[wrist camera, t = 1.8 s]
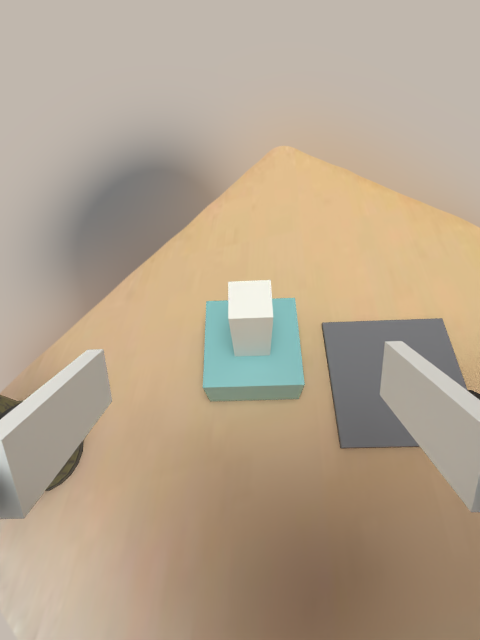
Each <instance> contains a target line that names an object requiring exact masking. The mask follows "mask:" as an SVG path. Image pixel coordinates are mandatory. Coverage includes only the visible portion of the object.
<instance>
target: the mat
mask: <svg viewBox="0 0 480 640" xmlns="http://www.w3.org/2000/svg"><path fill="white" fill-rule="evenodd" d="M322 329H323V336H324V343H325V349H326V356H327V362H328V369H329V376H330V382H331V389H332V395H333V402H334V409H335V415H336V422H337V428H338V435H339V442H340V448H376V447H420V446H419V445H418V443H417V442H416V441H415V439H414V438H413V437H412V436H411V434H410V433H409V432H408V431H407V429H406V428H405V427H404V425H403V424H402V423H401V422H400V420H399V419H398V418H397V416H396V415H395V414H394V413H393V411H392V410H391V409H390V407H389V406H388V405H387V404H386V402H385V401H384V400H383V398H382V397H381V396H380V386H381V376H382V366H383V356H384V346H385V341H402V342H404V343H405V344H406V345H408V346H409V347H410V348H412V349H413V350H414V351H416V352H417V353H418V354H420V355H421V356H422V357H424V358H425V359H426V360H428V361H429V362H430V363H431V364H433V365H434V366H435V367H437V368H438V369H439V370H441V371H442V372H443V373H445V374H446V375H447V376H449V377H450V378H451V379H453V380H454V381H455V382H457V383H458V384H459V385H461V386H462V387H463V388H464V389H466V390H467V387H466V385H465V382H464V379H463V376H462V373H461V370H460V368H459V365H458V362H457V359H456V356H455V353H454V351H453V348H452V345H451V342H450V339H449V336H448V334H447V331H446V328H445V325H444V322H443V320H442V318H440V319H412V320H384V321H356V322H328V323H322Z"/></svg>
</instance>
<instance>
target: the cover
mask: <svg viewBox="0 0 480 640" xmlns="http://www.w3.org/2000/svg"><path fill="white" fill-rule="evenodd" d="M304 385H305V384H304V375H303V366H302V357H301V348H300V339H299V330H298V321H297V312H296V303H295V298H280V299H272V292H271V280H261V281H236V282H228V301H206V325H205V350H204V374H203V389H204V391H205V392H206V394H207V396H208V398H209V400H210V401H242V400H279V399H299V397H300V394H301V392H302V390H303V387H304Z"/></svg>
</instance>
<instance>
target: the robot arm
mask: <svg viewBox="0 0 480 640" xmlns="http://www.w3.org/2000/svg"><path fill="white" fill-rule="evenodd" d="M380 396H381V397H382V398H383V400H384V401H385V402H386V404H387V405H388V406H389V407H390V409H391V410H392V411H393V413H394V414H395V415H396V416H397V418H398V419H399V420H400V422H401V423H402V424H403V425H404V427H405V428H406V429H407V431H408V432H409V433H410V434H411V436H412V437H413V438H414V439H415V441H416V442H417V443H418V445H419V446H420V447H421V448H422V450H423V451H424V452H425V454H426V455H427V456H428V457H429V459H430V460H431V461H432V463H433V464H434V465H435V466H436V468H437V469H438V470H439V472H440V473H441V474H442V475H443V477H444V478H445V479H446V481H447V482H448V483H449V484H450V486H451V487H452V488H453V490H454V491H455V492H456V493H457V495H458V496H459V497H460V499H461V500H462V501H463V502H464V504H465V505H466V506H467V508H468V509H469V510H470V511H471V512H480V394H478V393H476V392H474V391H472V390H466V389H464V388H463V387H462V386H461V385H459V384H458V383H457V382H455V381H454V380H453V379H451V378H450V377H449V376H447V375H446V374H445V373H443V372H442V371H441V370H439V369H438V368H437V367H435V366H434V365H433V364H431V363H430V362H429V361H428V360H426V359H425V358H424V357H422V356H421V355H420V354H418V353H417V352H416V351H414V350H413V349H412V348H410V347H409V346H408V345H406V344H405V343H404V342H402V341H385V346H384V356H383V366H382V376H381V386H380ZM111 402H112V397H111V391H110V385H109V379H108V373H107V367H106V362H105V356H104V350H103V349H97V350H86V351H85V352H84V353H83V354H81V355H80V356H79V357H78V358H76V359H75V360H74V361H73V362H72V363H70V364H69V365H68V366H67V367H65V368H64V369H63V370H62V371H60V372H59V373H58V374H57V375H55V376H54V377H53V378H52V379H50V380H49V381H48V382H47V383H45V384H44V385H43V386H42V387H40V388H39V389H38V390H37V391H35V392H34V393H33V394H32V395H30V396H29V397H28V398H27V399H25V400H24V401H23V402H21V403H19V404H17V405H15V406H13V407H11V408H9V409H7V410H6V411H4V412H3V413H2V414H1V415H0V519H19V518H25V517H26V516H27V514H28V513H29V511H30V510H31V509H32V507H33V506H34V505H35V503H36V502H37V501H38V499H39V498H40V497H41V495H42V494H43V493H44V491H45V490H46V489H47V487H48V486H49V485H50V483H51V482H52V481H53V479H54V478H55V477H56V475H57V474H58V473H59V471H60V470H61V469H62V467H63V466H64V465H65V463H66V462H67V461H68V459H69V458H70V457H71V455H72V454H73V453H74V451H75V450H76V449H77V447H78V446H79V445H80V443H81V442H82V441H83V439H84V438H85V437H86V435H87V434H88V433H89V431H90V430H91V429H92V427H93V426H94V425H95V423H96V422H97V421H98V419H99V418H100V417H101V415H102V414H103V413H104V411H105V410H106V409H107V407H108V406H109V405H110V403H111Z"/></svg>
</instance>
